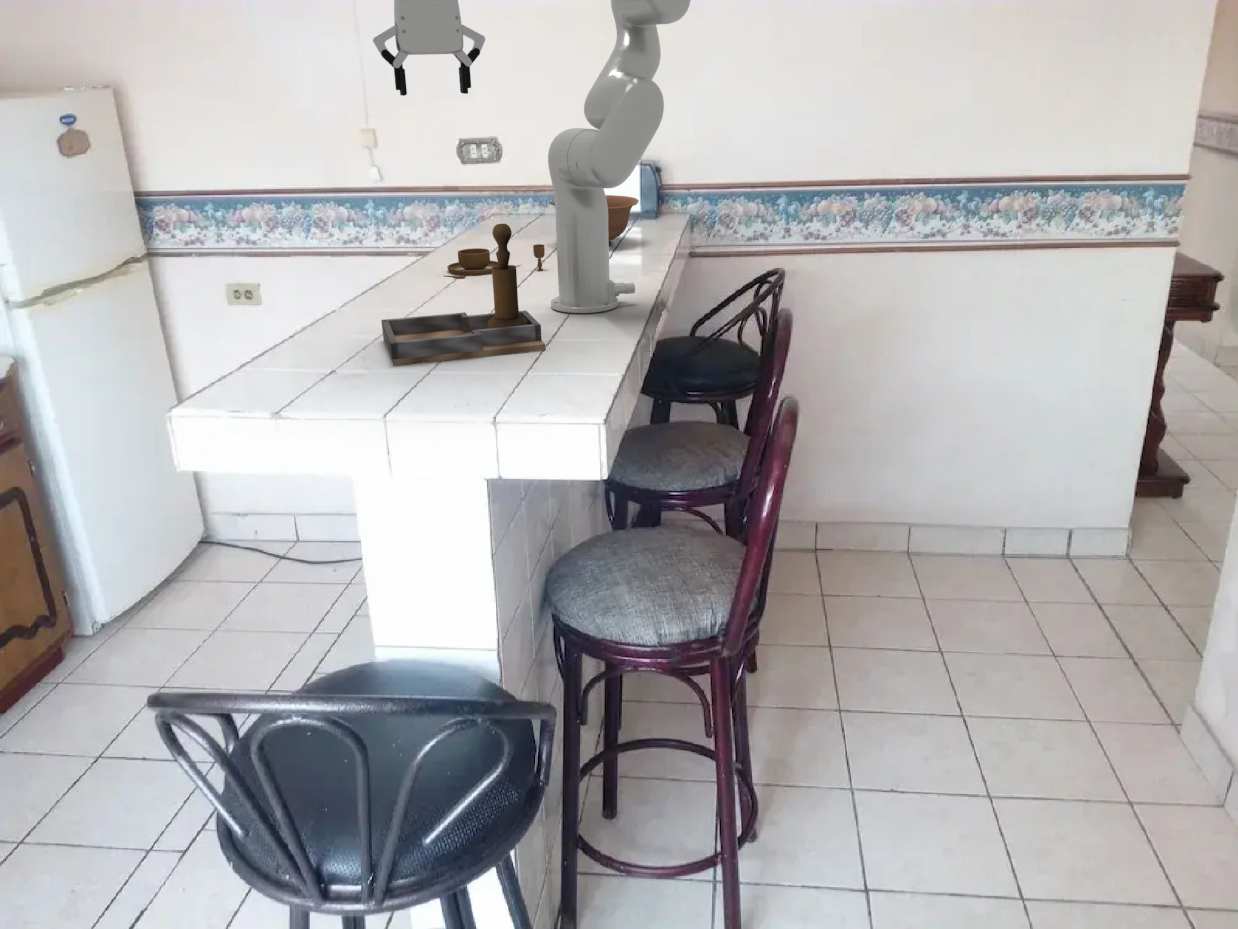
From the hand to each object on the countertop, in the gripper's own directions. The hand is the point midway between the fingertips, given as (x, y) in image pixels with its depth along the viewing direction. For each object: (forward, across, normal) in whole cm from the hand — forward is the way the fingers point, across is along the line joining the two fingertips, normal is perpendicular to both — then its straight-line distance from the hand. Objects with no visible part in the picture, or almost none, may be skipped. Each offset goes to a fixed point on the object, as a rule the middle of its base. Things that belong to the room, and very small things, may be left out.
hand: (434, 94), depth 161 cm
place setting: (+39, -16, -48) cm, 64 cm away
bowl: (+38, -47, -71) cm, 93 cm away
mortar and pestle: (+38, -7, +11) cm, 40 cm away
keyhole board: (+38, 0, +11) cm, 40 cm away
